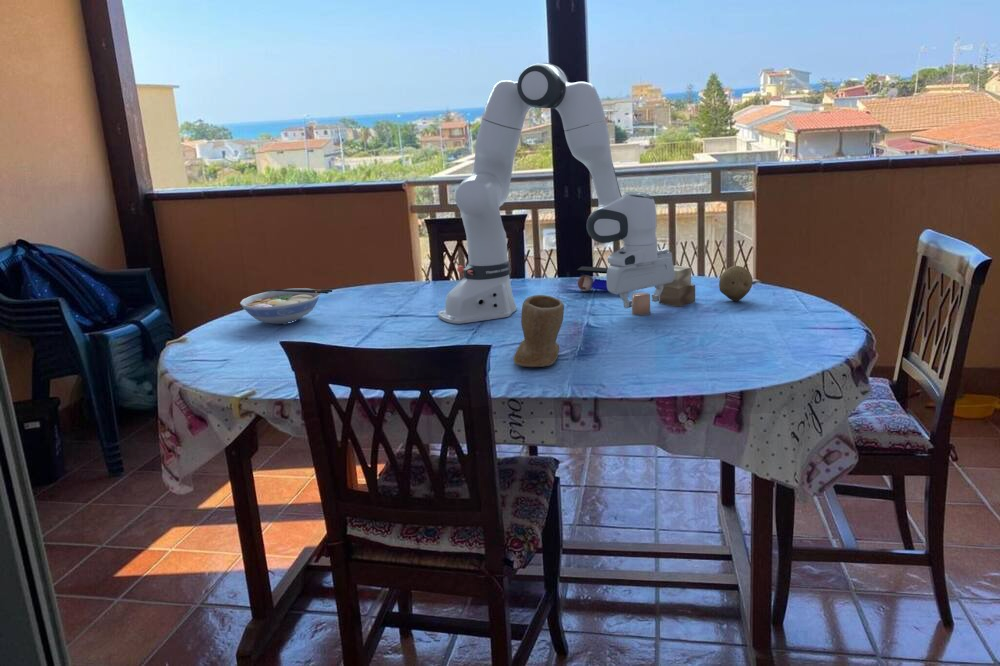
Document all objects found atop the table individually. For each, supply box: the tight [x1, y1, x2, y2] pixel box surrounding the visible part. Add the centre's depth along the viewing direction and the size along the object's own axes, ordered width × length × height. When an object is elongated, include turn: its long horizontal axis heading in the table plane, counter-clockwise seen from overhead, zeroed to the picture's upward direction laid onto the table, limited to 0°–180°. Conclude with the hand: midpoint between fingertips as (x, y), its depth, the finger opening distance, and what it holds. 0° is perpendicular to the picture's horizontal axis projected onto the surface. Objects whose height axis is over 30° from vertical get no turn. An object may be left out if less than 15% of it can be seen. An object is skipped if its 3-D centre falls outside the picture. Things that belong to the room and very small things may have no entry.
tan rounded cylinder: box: [631, 292, 651, 316], centre depth 217 cm, size 5×5×5 cm
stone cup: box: [512, 294, 565, 368], centre depth 182 cm, size 15×12×15 cm
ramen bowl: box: [239, 287, 333, 325], centre depth 234 cm, size 25×23×8 cm
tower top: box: [663, 264, 692, 289], centre depth 223 cm, size 6×6×5 cm
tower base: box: [658, 283, 696, 308], centre depth 224 cm, size 7×7×5 cm
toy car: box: [576, 265, 609, 292], centre depth 244 cm, size 7×8×15 cm
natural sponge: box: [718, 265, 754, 302], centre depth 220 cm, size 9×9×10 cm
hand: (642, 304), depth 217 cm, fingers open, 8 cm apart
